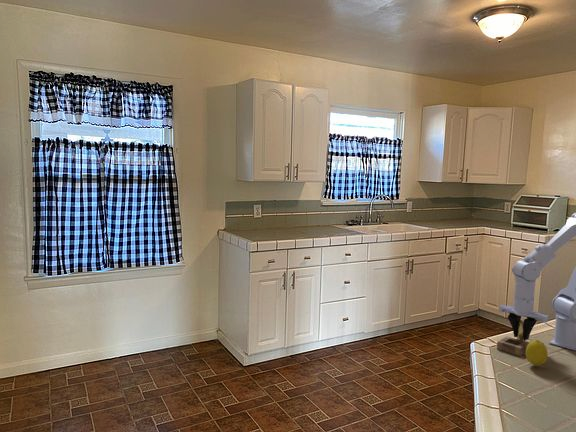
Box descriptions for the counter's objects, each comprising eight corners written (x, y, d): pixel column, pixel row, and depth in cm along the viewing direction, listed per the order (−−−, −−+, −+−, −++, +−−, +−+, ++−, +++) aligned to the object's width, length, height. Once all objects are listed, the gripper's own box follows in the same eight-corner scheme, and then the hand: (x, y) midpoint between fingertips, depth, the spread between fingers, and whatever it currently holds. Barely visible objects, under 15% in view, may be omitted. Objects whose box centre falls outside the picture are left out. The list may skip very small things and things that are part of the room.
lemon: (549, 371, 125) (551, 344, 124) (528, 369, 126) (530, 342, 125) (542, 363, 131) (544, 337, 130) (522, 361, 132) (524, 335, 131)
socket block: (506, 343, 145) (507, 336, 145) (528, 350, 140) (529, 342, 140) (497, 348, 141) (497, 341, 141) (519, 355, 136) (520, 348, 135)
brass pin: (518, 342, 146) (519, 319, 145) (526, 345, 144) (527, 321, 143) (515, 344, 145) (516, 321, 144) (523, 347, 143) (524, 323, 142)
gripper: (496, 294, 146) (493, 334, 147) (543, 305, 135) (540, 347, 136) (505, 291, 150) (502, 329, 152) (552, 301, 139) (548, 342, 141)
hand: (521, 337), depth 144 cm, fingers closed on brass pin, 2 cm apart
